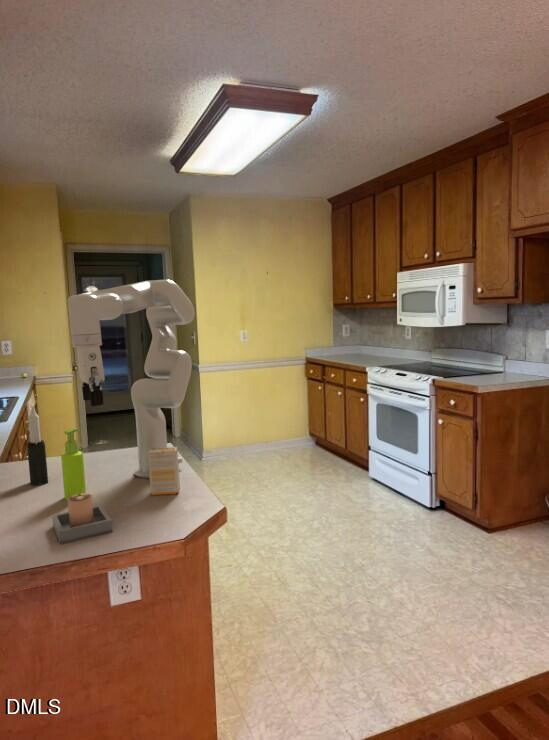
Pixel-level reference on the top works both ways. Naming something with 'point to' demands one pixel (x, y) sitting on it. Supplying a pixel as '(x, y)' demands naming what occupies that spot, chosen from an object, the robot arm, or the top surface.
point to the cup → (80, 509)
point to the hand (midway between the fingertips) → (93, 402)
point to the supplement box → (164, 470)
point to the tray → (81, 526)
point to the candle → (36, 452)
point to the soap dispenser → (73, 467)
